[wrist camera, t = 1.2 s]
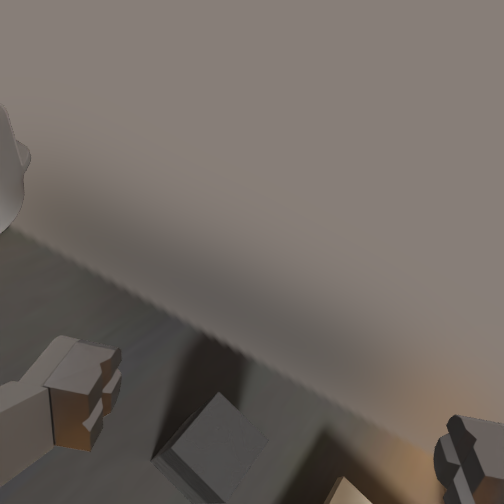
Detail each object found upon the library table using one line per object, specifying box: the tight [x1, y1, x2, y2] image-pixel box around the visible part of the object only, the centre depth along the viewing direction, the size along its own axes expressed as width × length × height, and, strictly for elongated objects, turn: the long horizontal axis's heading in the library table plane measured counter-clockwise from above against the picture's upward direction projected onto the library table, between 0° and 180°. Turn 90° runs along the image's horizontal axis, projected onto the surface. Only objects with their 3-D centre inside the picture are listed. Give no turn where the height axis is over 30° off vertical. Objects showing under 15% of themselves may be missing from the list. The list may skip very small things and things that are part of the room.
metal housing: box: [150, 392, 269, 504], centre depth 33 cm, size 5×5×10 cm
